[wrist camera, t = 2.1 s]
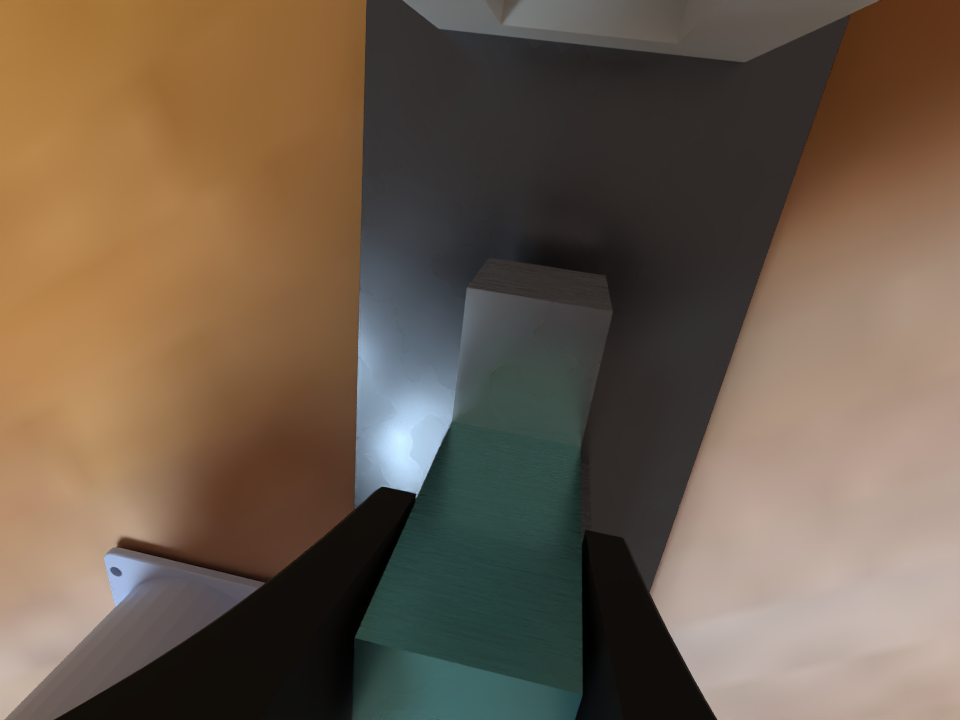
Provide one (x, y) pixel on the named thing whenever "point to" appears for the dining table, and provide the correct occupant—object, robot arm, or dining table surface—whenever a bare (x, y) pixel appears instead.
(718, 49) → the socket
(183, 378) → the dining table surface
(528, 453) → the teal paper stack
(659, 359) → the grey long angular block
